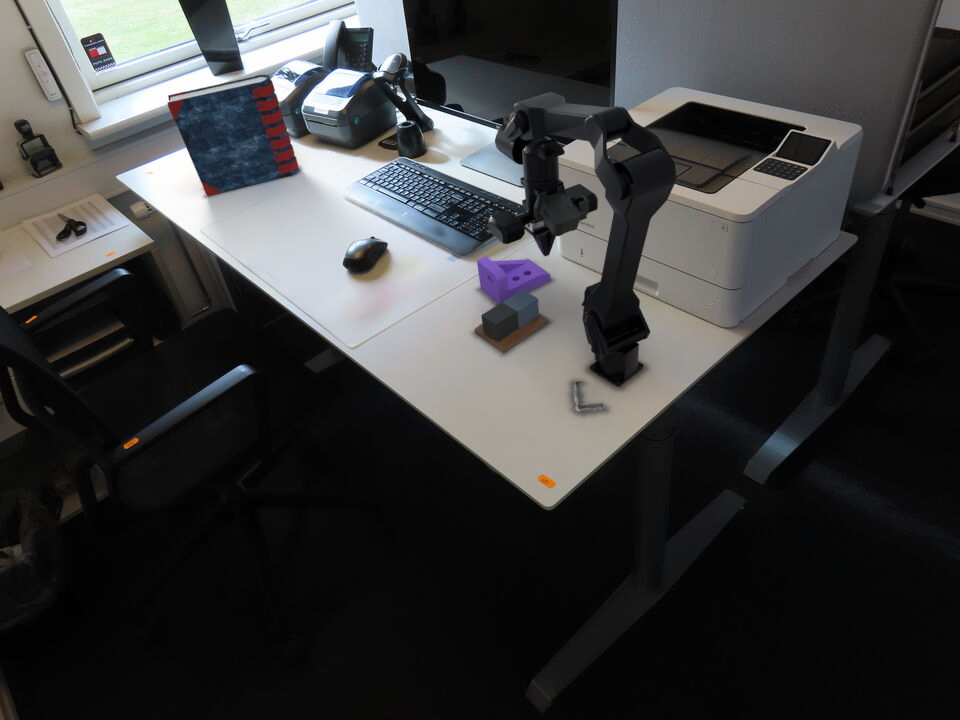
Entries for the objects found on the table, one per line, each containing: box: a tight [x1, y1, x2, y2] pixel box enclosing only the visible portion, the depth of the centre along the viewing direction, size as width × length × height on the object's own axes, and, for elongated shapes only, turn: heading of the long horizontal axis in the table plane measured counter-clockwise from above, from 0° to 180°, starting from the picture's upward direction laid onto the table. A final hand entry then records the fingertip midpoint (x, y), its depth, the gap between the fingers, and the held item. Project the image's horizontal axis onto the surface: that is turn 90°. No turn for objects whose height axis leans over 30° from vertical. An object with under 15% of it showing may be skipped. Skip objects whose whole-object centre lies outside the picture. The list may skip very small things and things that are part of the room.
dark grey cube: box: [480, 302, 519, 342], centre depth 119 cm, size 4×5×4 cm
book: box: [167, 74, 300, 197], centre depth 172 cm, size 25×7×25 cm, turn 108°
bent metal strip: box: [572, 379, 604, 413], centre depth 107 cm, size 7×1×5 cm
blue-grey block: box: [503, 290, 540, 329], centre depth 121 cm, size 4×5×4 cm
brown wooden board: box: [474, 313, 549, 353], centre depth 122 cm, size 8×11×1 cm
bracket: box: [476, 255, 551, 305], centre depth 130 cm, size 12×7×7 cm, turn 123°
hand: (545, 254), depth 119 cm, fingers closed
